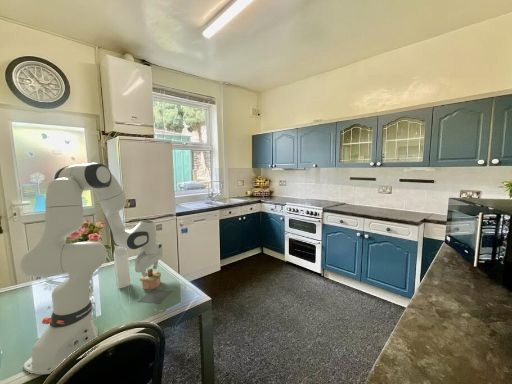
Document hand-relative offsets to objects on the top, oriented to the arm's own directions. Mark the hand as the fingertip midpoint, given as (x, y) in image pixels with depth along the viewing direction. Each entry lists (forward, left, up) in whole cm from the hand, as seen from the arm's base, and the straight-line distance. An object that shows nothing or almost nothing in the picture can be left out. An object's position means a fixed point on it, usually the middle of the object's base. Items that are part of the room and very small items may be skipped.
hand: (150, 272), depth 132 cm
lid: (0, 0, -3) cm, 3 cm away
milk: (-2, +16, -8) cm, 18 cm away
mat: (-10, -9, -8) cm, 16 cm away
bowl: (0, 0, -8) cm, 8 cm away
